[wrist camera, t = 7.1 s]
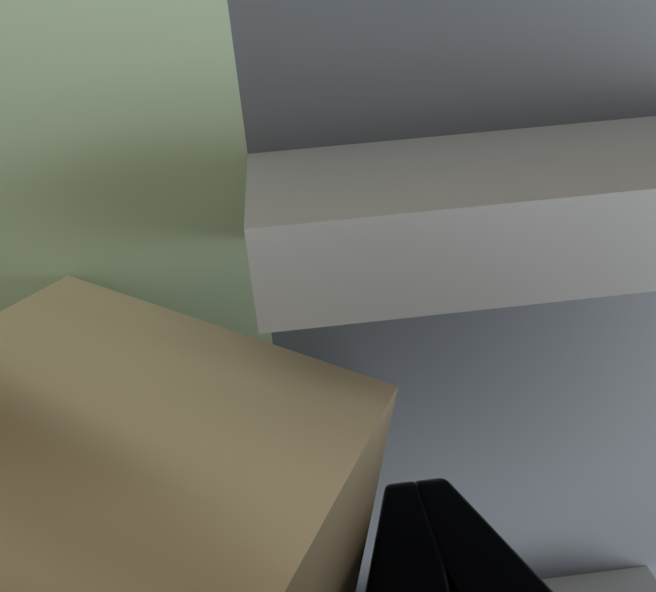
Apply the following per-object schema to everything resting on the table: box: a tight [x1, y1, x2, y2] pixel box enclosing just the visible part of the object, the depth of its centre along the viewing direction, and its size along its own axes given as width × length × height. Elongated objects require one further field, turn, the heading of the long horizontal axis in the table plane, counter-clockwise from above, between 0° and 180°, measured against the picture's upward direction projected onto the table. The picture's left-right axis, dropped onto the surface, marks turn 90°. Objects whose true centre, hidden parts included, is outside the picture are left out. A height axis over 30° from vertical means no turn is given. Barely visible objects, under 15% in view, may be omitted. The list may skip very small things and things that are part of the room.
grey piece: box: [0, 0, 656, 592], centre depth 10 cm, size 14×24×5 cm, turn 94°
